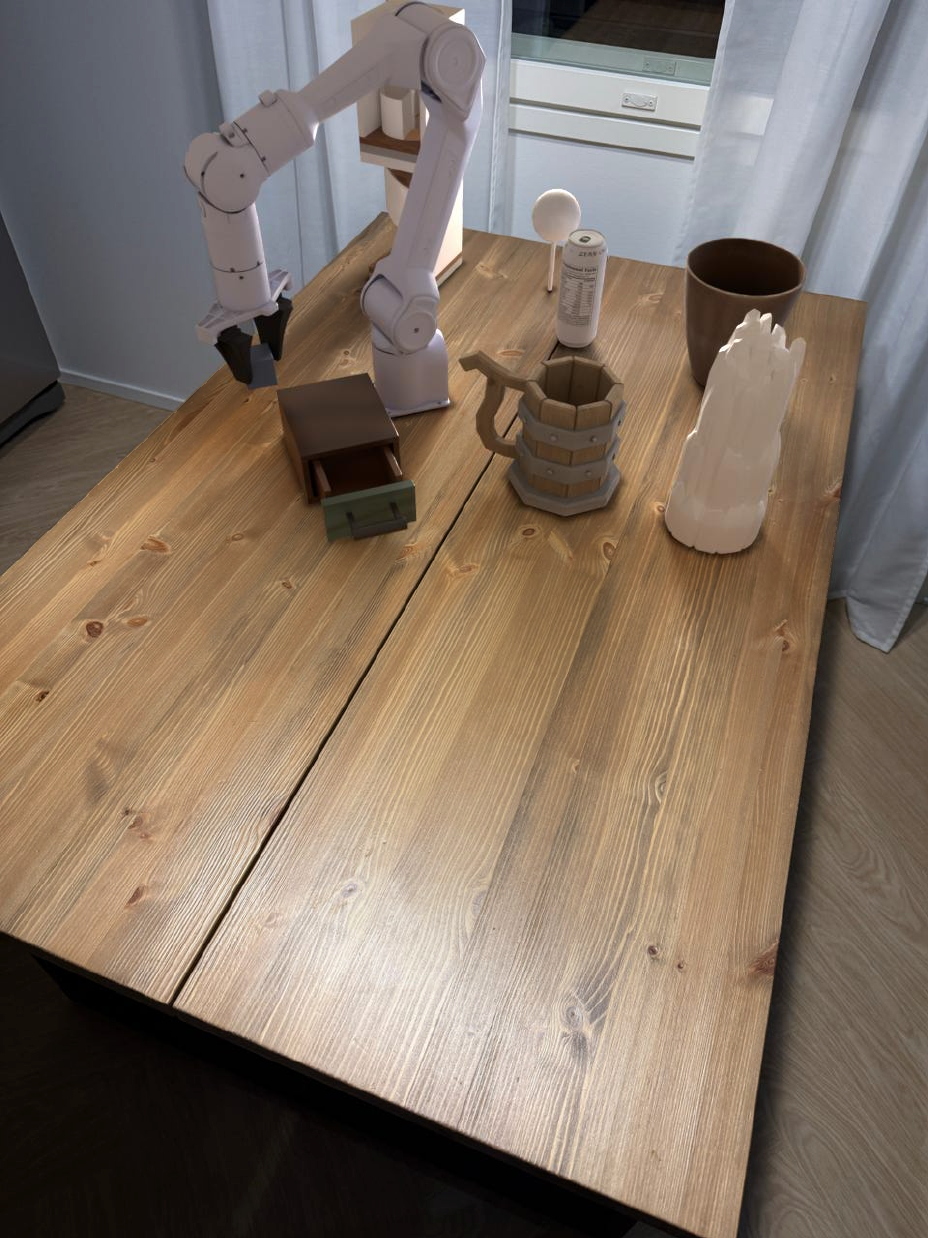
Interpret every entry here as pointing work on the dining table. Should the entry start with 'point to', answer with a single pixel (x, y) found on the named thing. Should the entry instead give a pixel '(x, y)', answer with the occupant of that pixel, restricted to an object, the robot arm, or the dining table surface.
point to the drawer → (363, 493)
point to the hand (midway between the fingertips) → (258, 369)
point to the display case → (402, 140)
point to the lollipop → (555, 220)
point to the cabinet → (333, 422)
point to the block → (262, 367)
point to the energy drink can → (580, 287)
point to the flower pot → (735, 293)
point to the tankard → (556, 430)
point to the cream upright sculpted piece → (735, 440)
